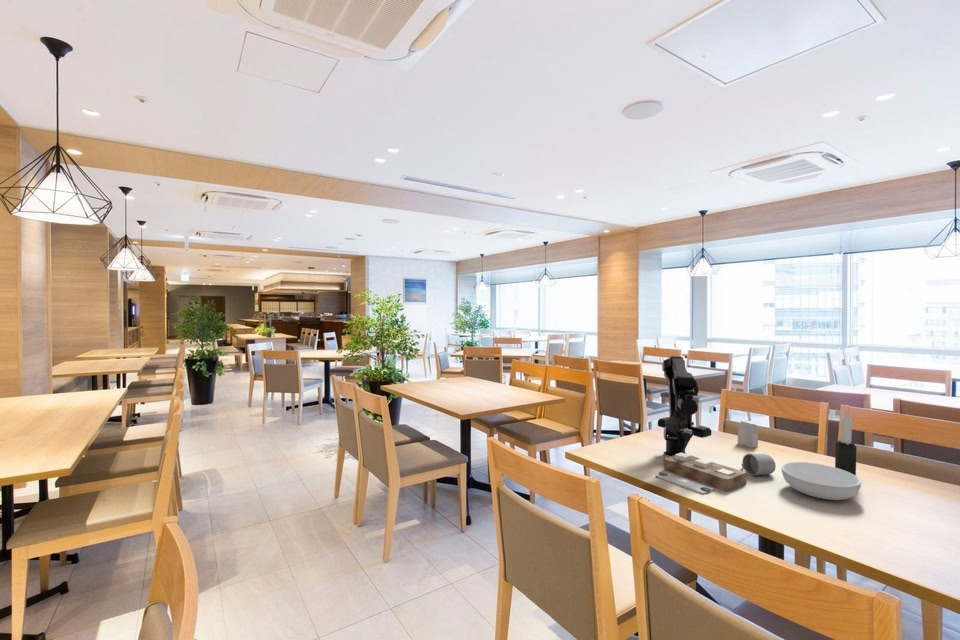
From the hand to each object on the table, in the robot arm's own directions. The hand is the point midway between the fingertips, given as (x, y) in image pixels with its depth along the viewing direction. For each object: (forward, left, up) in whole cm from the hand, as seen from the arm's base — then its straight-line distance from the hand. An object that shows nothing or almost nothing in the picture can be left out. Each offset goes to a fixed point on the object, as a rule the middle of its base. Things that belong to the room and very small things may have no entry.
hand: (683, 449), depth 168 cm
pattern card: (+8, -12, -8) cm, 16 cm away
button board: (+8, 0, -8) cm, 11 cm away
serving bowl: (+37, +18, -8) cm, 42 cm away
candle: (+37, +39, -8) cm, 54 cm away
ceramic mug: (+17, +19, -8) cm, 27 cm away
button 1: (0, 0, -5) cm, 5 cm away
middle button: (+8, 0, -5) cm, 10 cm away
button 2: (+16, 0, -6) cm, 17 cm away
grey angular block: (-2, +51, -8) cm, 52 cm away
